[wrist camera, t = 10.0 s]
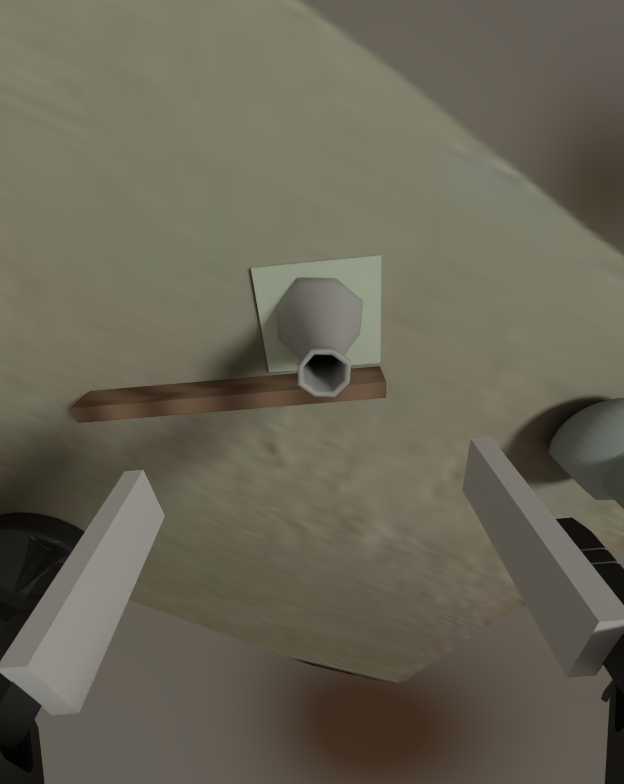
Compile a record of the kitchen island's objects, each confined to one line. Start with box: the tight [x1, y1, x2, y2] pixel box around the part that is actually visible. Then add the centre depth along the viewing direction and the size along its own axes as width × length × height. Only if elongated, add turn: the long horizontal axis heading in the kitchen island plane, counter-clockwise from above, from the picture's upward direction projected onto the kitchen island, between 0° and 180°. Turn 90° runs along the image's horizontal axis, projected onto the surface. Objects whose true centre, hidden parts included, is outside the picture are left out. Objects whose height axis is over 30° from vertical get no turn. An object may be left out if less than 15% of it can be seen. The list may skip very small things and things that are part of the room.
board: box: [251, 255, 381, 372], centre depth 28 cm, size 10×9×1 cm
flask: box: [277, 277, 363, 397], centre depth 24 cm, size 7×7×10 cm
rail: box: [71, 366, 386, 423], centre depth 30 cm, size 27×2×3 cm, turn 95°
